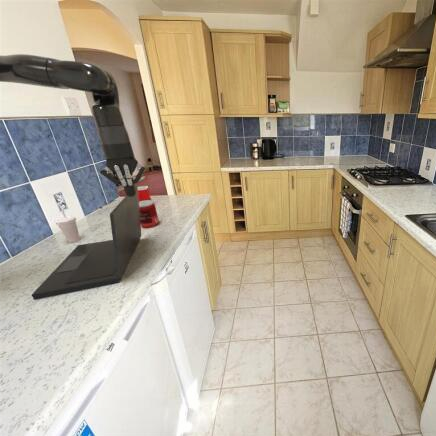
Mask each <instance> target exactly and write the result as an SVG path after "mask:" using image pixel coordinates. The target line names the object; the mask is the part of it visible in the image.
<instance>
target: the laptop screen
mask: <svg viewBox="0 0 436 436" xmlns="http://www.w3.org/2000/svg"><path fill="white" fill-rule="evenodd" d="M137 187H138V186H136V185H135V188H136V194H135V196H134V197H129V196H128V195H125V197H124V198H123V199H122V200H120V202H119V203H118V204H117V205H116V206H115V208H114V209H112V211H111V212H109V221H110V229H111V235H112V240H113V244H114V252H115V260H116V267H117V275H118V278H121V276H122V274H123V272H124V270H125V268H126V266H127V264H128V262H129V263H130V261H131V259H132V257H133V255H134V253H135V251H136V249H137V247H138V245H139V243H140V241H141V238H142V226H141V224H140V212H139V200H138V188H137ZM139 240H140V241H139ZM138 242H139V243H138ZM137 244H138V245H137ZM136 246H137V247H136ZM135 248H136V249H135ZM134 250H135V251H134ZM133 252H134V253H133ZM132 254H133V255H132ZM131 256H132V257H131ZM130 258H131V259H130ZM129 260H130V261H129ZM128 265H129V264H128ZM127 267H128V266H127ZM126 269H127V268H126ZM125 271H126V270H125ZM124 273H125V272H124ZM123 275H124V274H123ZM122 277H123V276H122ZM121 279H122V278H121Z"/></svg>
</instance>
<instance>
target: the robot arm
mask: <svg viewBox="0 0 436 436" xmlns="http://www.w3.org/2000/svg"><path fill="white" fill-rule="evenodd" d="M0 82H2V83H14V84H22V85H28V86H29V85H30V86H38V87H45V88H52V89H59V90H75V91H81V92H87V93H91V96H92V101H93V104H92V105H91V107H90V110H91V114H92V118H93V121H94V123H95V127H96V132H97V137H98V141H99V143H100V145H101V149H102V153H103V156H104V158H105V160H106V162H105V167H104V168H102V169H101V170H100V171H99V173H100V175H102V176H104V177H105V178H107V179H108V180H109V181H110V182H112V183H113V184H114V185H116V186H122V187H123V189H124V192H125V196H127V195H128V196H129V197H134V196H135V194H136V188H135V186H136V184H138V183H139V182H140V180H141V179H142V178H143V176H144V174H145V172H146V171H147V166H146V165H142V164H141V163H139V161H138V160H137V159H136V157H135V154H134V149H133V147H132V143H131V139H130V135H129V132H128V130H127V128H126V124H125V122H124V117H123V114H122V111H121V107H120V104H121V103H120V94H119V89H118V84H117V82H116V79H115V77H114V76H113V74H112V73H111V72H109V71H108V70H107V69H106V68H104V67H102V66H99V65H96V64H94V63H90V62H84V61H77V60H61V59H57V58H53V57H46V56H40V55H34V54H24V53H21V54H20V53H17V54H16V53H15V54H8V55H0ZM136 170H137V171H138V172H137V174H136V176H135V178H134V173H135V171H136ZM116 175H117V176H116Z"/></svg>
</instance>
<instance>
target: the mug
mask: <svg viewBox="0 0 436 436" xmlns="http://www.w3.org/2000/svg"><path fill="white" fill-rule="evenodd" d="M137 188H138V200H139V202H140V201H145V200H152V198H151V193H150V190H149V186H148V185H142V186H137Z"/></svg>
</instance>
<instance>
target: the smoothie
mask: <svg viewBox="0 0 436 436" xmlns="http://www.w3.org/2000/svg"><path fill="white" fill-rule="evenodd" d="M60 211H61V213H62V215H63V217H60V218H58V219H56V220H55V221H54V224H55V225H57V227H58V228H59V229H60V231H61V232H62V234H63V235H64V237H65V239H67V241H68V243H75V242H78V241H80V240H81V237H80V232H79V228H78V225H77V224H78V223H77V221H76V220H77V218H76V216H74V215H73V216H72V215H70V216H66V213H65V211H64V209H63V208H61V209H60Z"/></svg>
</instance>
